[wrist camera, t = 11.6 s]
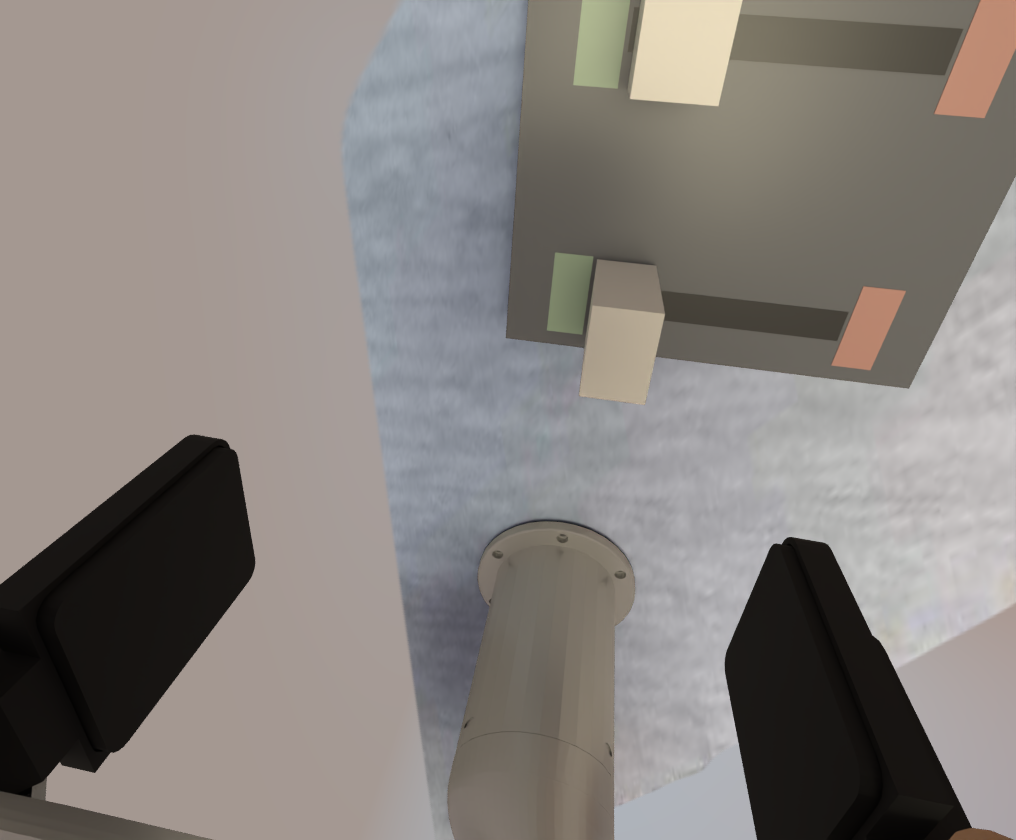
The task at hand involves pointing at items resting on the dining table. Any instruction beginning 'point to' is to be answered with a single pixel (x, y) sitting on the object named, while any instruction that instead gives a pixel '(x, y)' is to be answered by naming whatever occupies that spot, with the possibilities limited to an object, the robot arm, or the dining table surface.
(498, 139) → the dining table surface
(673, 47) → the block
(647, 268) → the block
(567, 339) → the breaker panel
